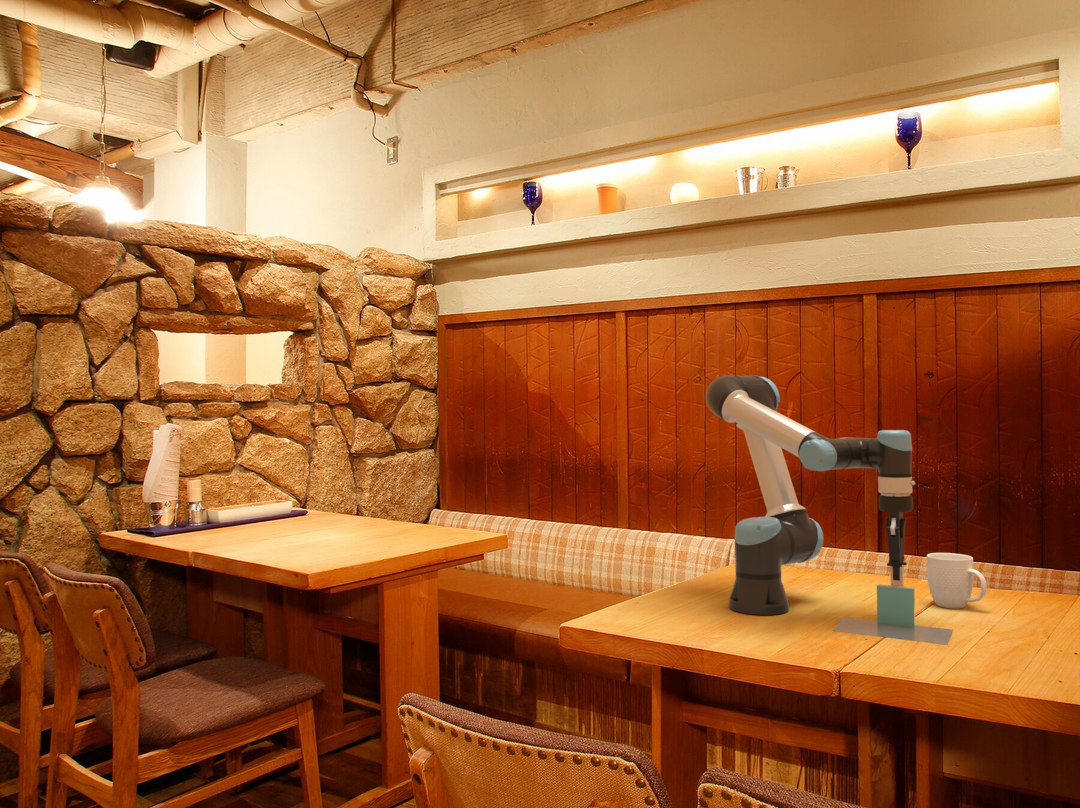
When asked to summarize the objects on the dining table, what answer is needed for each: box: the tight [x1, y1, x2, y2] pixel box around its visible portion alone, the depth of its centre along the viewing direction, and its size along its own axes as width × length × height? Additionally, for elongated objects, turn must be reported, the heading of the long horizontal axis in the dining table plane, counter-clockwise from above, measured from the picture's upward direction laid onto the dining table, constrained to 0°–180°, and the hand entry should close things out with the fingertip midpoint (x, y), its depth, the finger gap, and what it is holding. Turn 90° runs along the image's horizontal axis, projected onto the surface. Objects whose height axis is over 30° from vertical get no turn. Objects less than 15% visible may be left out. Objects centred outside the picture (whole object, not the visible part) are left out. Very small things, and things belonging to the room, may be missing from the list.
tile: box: [876, 583, 916, 628], centre depth 193 cm, size 8×2×9 cm, turn 59°
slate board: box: [831, 616, 954, 646], centre depth 188 cm, size 24×14×1 cm, turn 59°
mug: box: [926, 552, 988, 609], centre depth 213 cm, size 15×11×13 cm
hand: (897, 592), depth 195 cm, fingers closed
